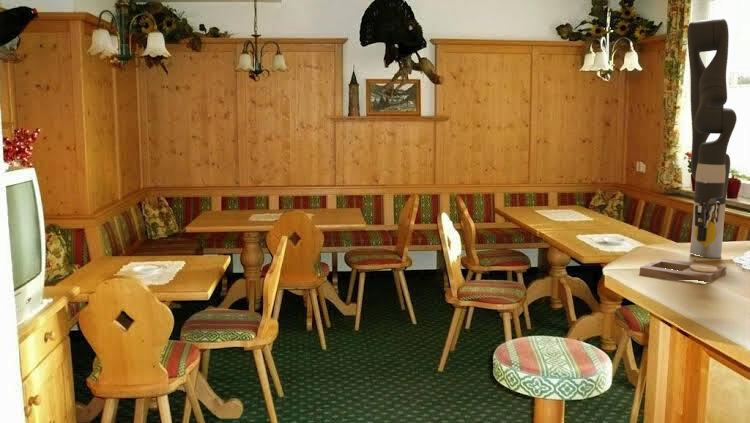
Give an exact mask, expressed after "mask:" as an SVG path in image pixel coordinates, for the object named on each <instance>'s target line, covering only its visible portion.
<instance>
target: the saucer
mask: <svg viewBox="0 0 750 423" xmlns="http://www.w3.org/2000/svg"><path fill="white" fill-rule="evenodd" d="M704 264H705V263H701V264H693V265H690V269H691V270H694V271H699V272H717V267H715V266H716V265H715V266H711V265H712V264H708V265H704Z"/></svg>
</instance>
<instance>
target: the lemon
mask: <svg viewBox="0 0 750 423" xmlns="http://www.w3.org/2000/svg"><path fill="white" fill-rule="evenodd" d="M701 222H702V221H701ZM697 234H698V227H696V230H695V237H696V240H697ZM716 234H717V231H716V226H715V225H714V223H713V222H711V221H708V226H707V235H706V241H704V242H702V241H698V240H697V241H698V242H699V243H700V244H702V245H703V247H706V246H707V245H709V244H711V243H713V242H714V240H715V238H716Z"/></svg>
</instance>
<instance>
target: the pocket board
mask: <svg viewBox="0 0 750 423" xmlns="http://www.w3.org/2000/svg"><path fill="white" fill-rule="evenodd" d="M693 264H702V263H700V262H694V261H693V262H692V261H687V260H680V259H674V258H667V257H662V258H659V259H657V260H654V261H652V262H650V263H648V264H645V265H643V266H640V268H639V275H644V276H649V277H655V278H660V279H661V278H662V279H666V280H672V281H678V280H698V281H704V282H710V283H711V282H713V281H715V280H717V279H719V278H721V277H722V276H724V275H726V273H727V266H720V265H714V264H713V265H712V264H710V265H711V266H715V267H717V272H699V271H694V270H691V269H690V265H693ZM703 264H704V265H709V264H708V263H703ZM665 268H666V269H665ZM671 269H673V270H671ZM677 270H678V271H677Z"/></svg>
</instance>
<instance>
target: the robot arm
mask: <svg viewBox="0 0 750 423" xmlns="http://www.w3.org/2000/svg"><path fill="white" fill-rule="evenodd" d="M686 38H687V39H686V40H687V52H688V61H689V73H690V74H689V75H690V115H691V116H690V117H691V133H692V136H691V137H692V138H691V139H692V140H691V142H692V143H691V162H690V168H691V176H692V178H693V179H694V180H695V182H694V183H695V184H694V193H693V194H694V197H693V198H694V199H693V213H692V223H691V224H692V225H691V237H690V250H689V254H690V253H693V254H696V255H700V256H703V257H702V258H704V257H707V258H706V259H718V258H721V257H722V252H723V251H722V248H723V240H724V239H723V238H724V237H723V236H724V229H725V228H724V226H725V225H724V224H725V216H726V215H725V214H726V201H727V195H728V183H729V178H730V171H731V157H730V156H729V154H728V153H727V149H728V146H729V142H730V139H731V137H732V134H733V132H734V129H735V127H736V124H737V121H738V120H737V115H736V111H735V110H734V109H732V108H728V107H724V105H725V104H726V103H727V101H728V89H727V88H728V87H727V85H728V84H727V66H728V56H729V38H730V36H729V26H728V22H727V20H726V19H725V18H721V17H719V18H709V19H708V18H707V19H703V20H702V19H701V20H694V21H690V22H689V24H688V26H687V31H686ZM713 51H716V52H715V55H714V56H713V58H712V59H711V61H710V62H709V64H708V65H707V66H705V64H704V62H703V61H702V58H701V55H700V53H705V52H713ZM711 134H719V136H718V138H716V139H715V140H712V141H711V140H710V141H707V140H708V138H709V136H710V135H711ZM701 221H702V222H701ZM708 221H711V222H713V223H714V225H715V226H716V231H717V234H716V238H715V240H714V242H713V243H711V244H709V245H707V246H706V247H703V245H702V244H700V243H699V242H698V241H702V242H704V241H706V235H707V226H708ZM696 227H698V234H697V240H698V241H697V240H696V237H695V230H696Z"/></svg>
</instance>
